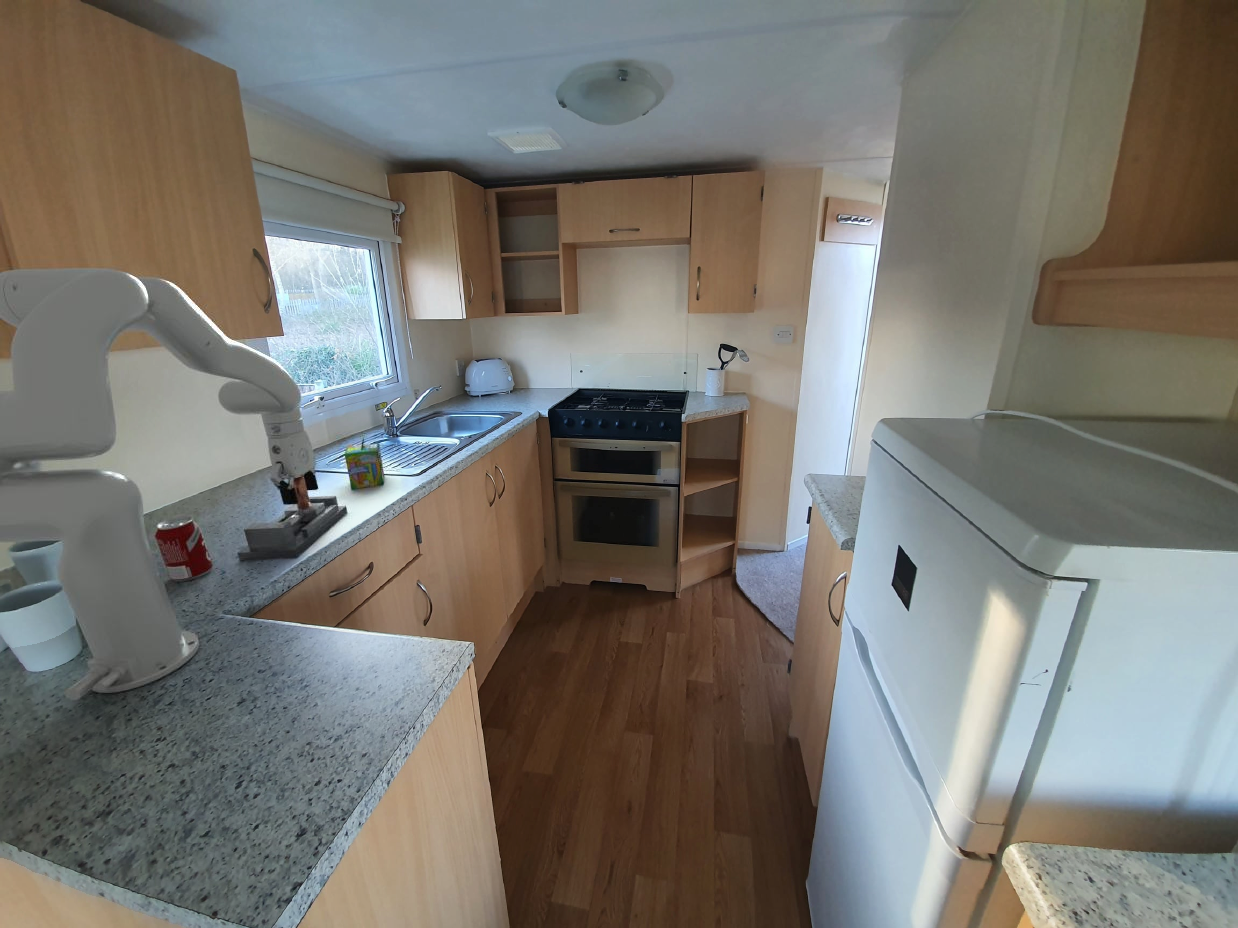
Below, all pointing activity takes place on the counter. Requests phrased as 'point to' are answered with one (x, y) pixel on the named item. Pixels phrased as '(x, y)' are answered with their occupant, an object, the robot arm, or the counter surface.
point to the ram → (302, 505)
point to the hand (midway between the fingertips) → (301, 496)
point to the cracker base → (298, 540)
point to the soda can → (183, 549)
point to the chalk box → (364, 465)
